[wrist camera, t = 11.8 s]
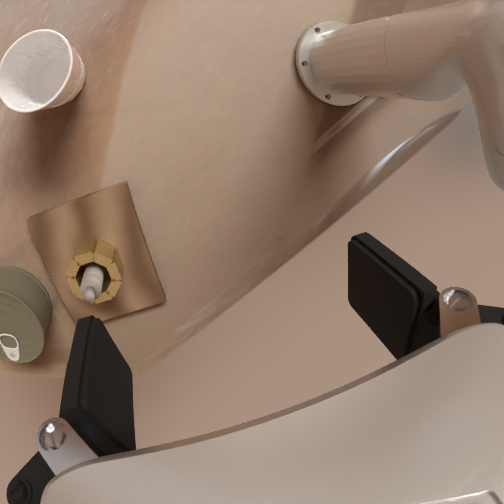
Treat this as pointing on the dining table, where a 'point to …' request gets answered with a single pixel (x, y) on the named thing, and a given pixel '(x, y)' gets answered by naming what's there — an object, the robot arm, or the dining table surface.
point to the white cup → (40, 72)
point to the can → (22, 315)
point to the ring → (101, 255)
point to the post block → (63, 248)
